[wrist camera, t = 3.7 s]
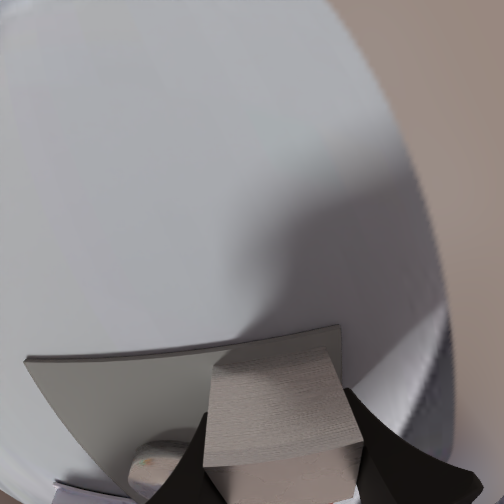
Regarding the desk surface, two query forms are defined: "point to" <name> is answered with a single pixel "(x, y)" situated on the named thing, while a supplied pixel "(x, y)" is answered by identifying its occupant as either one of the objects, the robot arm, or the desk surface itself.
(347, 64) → the desk surface
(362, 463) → the robot arm
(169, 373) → the mat
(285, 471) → the pale grey cube
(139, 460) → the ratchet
